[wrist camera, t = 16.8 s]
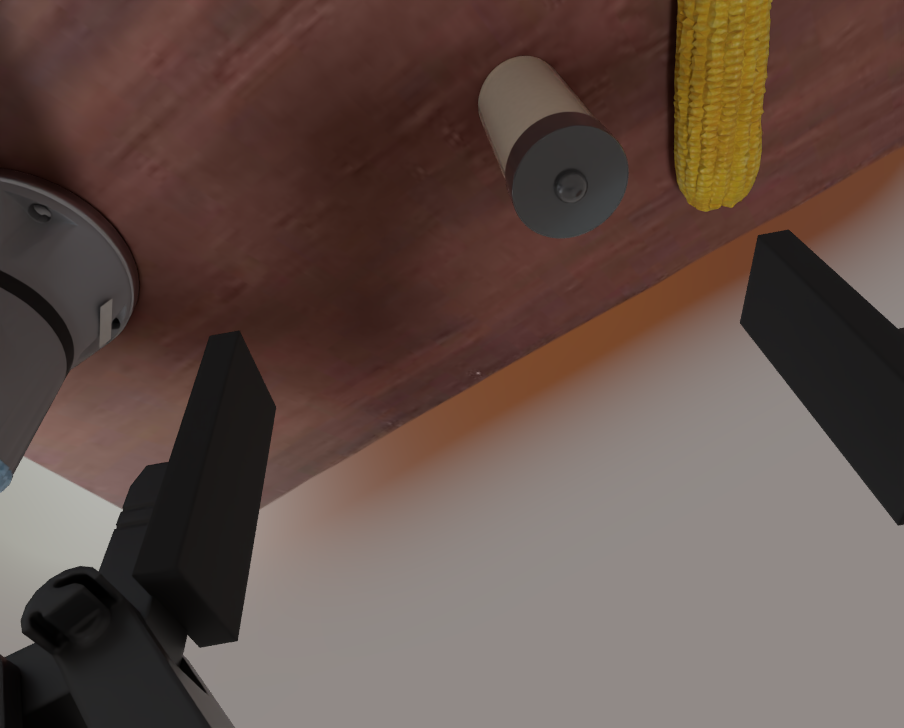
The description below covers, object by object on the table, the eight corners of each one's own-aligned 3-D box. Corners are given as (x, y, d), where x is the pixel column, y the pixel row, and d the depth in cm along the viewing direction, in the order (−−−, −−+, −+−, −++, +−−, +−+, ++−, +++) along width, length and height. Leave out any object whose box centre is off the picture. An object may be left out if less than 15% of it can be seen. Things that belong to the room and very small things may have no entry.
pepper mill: (481, 154, 44) (519, 256, 33) (471, 63, 40) (510, 145, 29) (565, 138, 44) (632, 235, 33) (563, 45, 40) (638, 121, 29)
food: (734, 173, 47) (773, 207, 43) (662, 192, 48) (693, 229, 43) (757, -179, 34) (817, -183, 29) (656, -147, 34) (700, -146, 30)
